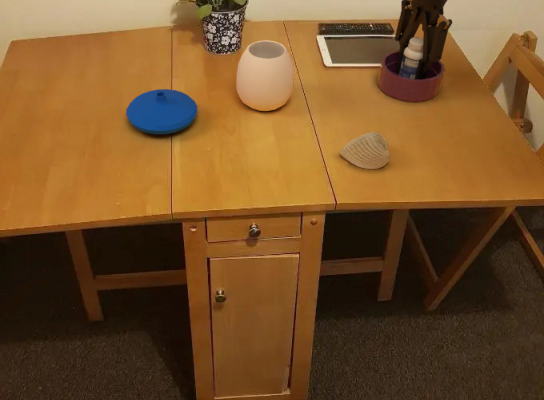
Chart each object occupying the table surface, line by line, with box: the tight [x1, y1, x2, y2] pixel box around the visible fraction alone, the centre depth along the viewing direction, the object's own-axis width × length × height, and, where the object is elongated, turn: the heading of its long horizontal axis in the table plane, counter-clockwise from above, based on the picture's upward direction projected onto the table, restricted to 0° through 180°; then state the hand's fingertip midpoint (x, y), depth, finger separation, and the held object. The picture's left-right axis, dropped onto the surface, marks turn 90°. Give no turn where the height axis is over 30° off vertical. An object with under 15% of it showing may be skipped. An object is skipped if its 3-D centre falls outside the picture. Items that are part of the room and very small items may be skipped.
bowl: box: [377, 49, 446, 103], centre depth 139 cm, size 14×14×6 cm
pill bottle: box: [399, 36, 423, 79], centre depth 136 cm, size 5×5×10 cm
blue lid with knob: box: [125, 88, 198, 135], centre depth 128 cm, size 16×16×7 cm
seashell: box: [339, 131, 391, 170], centre depth 119 cm, size 8×8×8 cm
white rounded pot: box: [235, 39, 295, 112], centre depth 132 cm, size 13×13×14 cm
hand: (409, 77), depth 139 cm, fingers closed on pill bottle, 5 cm apart
